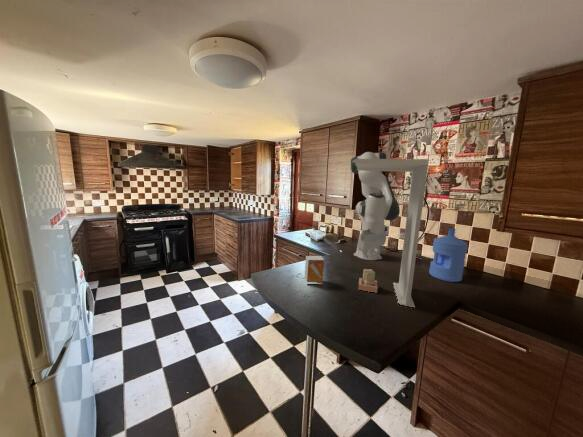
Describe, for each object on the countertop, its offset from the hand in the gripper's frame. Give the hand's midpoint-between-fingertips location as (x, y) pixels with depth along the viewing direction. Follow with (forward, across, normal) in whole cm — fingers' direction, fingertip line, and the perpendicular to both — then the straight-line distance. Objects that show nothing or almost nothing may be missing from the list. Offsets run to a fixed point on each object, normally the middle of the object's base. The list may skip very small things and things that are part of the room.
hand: (370, 256), depth 108 cm
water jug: (+16, +50, -20) cm, 56 cm away
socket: (+16, 0, 0) cm, 16 cm away
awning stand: (+16, +1, -4) cm, 17 cm away
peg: (+16, 0, 0) cm, 16 cm away
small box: (+16, -16, +21) cm, 31 cm away
